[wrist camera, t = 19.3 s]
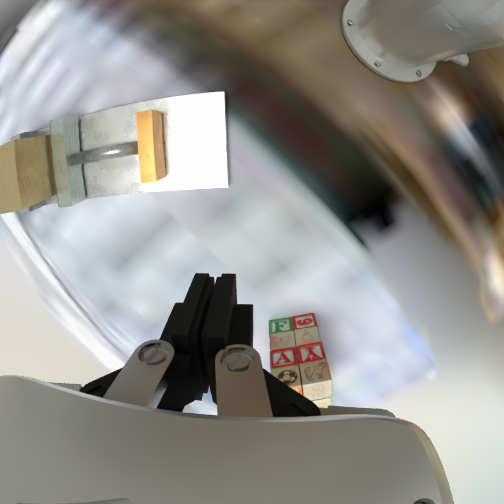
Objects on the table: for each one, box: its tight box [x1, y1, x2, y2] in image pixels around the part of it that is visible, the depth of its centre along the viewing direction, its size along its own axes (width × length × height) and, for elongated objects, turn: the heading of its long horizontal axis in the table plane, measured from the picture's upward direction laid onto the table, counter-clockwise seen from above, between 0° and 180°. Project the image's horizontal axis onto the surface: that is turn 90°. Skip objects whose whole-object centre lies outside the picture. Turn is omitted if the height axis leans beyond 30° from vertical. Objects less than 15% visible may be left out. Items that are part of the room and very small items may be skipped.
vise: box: [11, 92, 229, 213], centre depth 26 cm, size 27×10×4 cm, turn 92°
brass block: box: [0, 135, 57, 214], centre depth 23 cm, size 5×7×9 cm
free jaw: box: [50, 110, 166, 208], centre depth 25 cm, size 13×10×3 cm
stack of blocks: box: [269, 313, 332, 408], centre depth 35 cm, size 21×6×12 cm, turn 11°
